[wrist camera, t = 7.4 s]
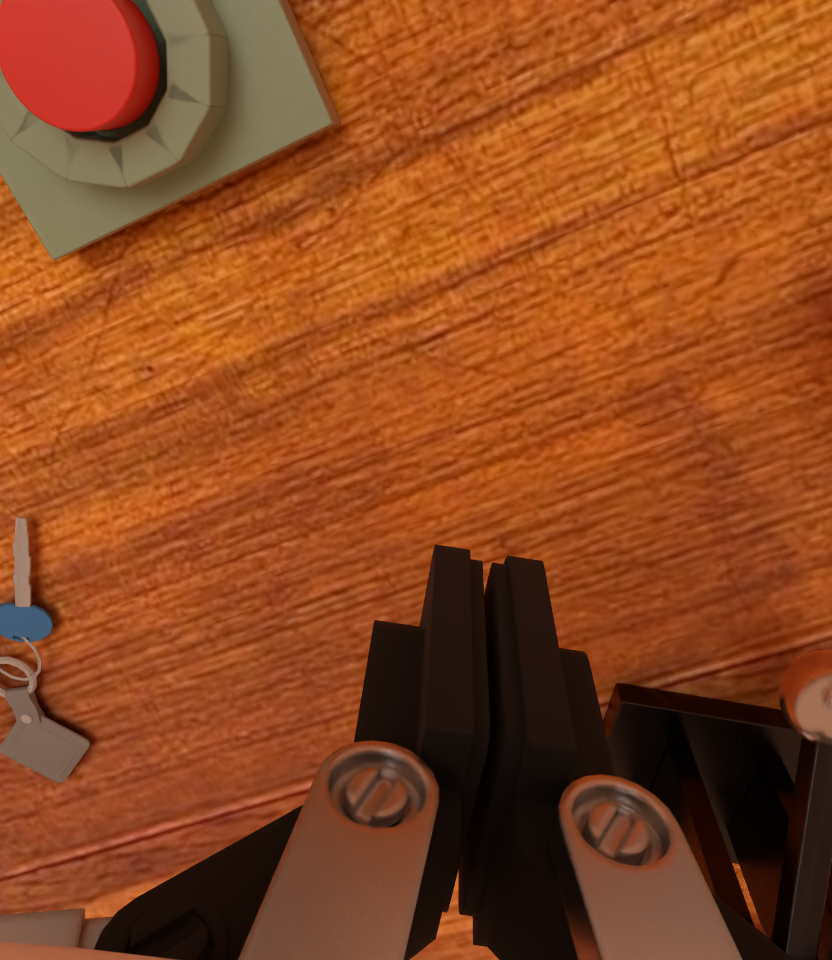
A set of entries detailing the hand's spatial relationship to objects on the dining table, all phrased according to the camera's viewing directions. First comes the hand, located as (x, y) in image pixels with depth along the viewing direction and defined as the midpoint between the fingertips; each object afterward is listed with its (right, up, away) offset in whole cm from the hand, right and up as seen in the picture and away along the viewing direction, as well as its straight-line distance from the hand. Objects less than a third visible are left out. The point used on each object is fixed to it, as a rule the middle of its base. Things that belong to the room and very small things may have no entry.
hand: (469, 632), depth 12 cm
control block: (-9, +15, +12) cm, 21 cm away
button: (-9, +14, +9) cm, 19 cm away
